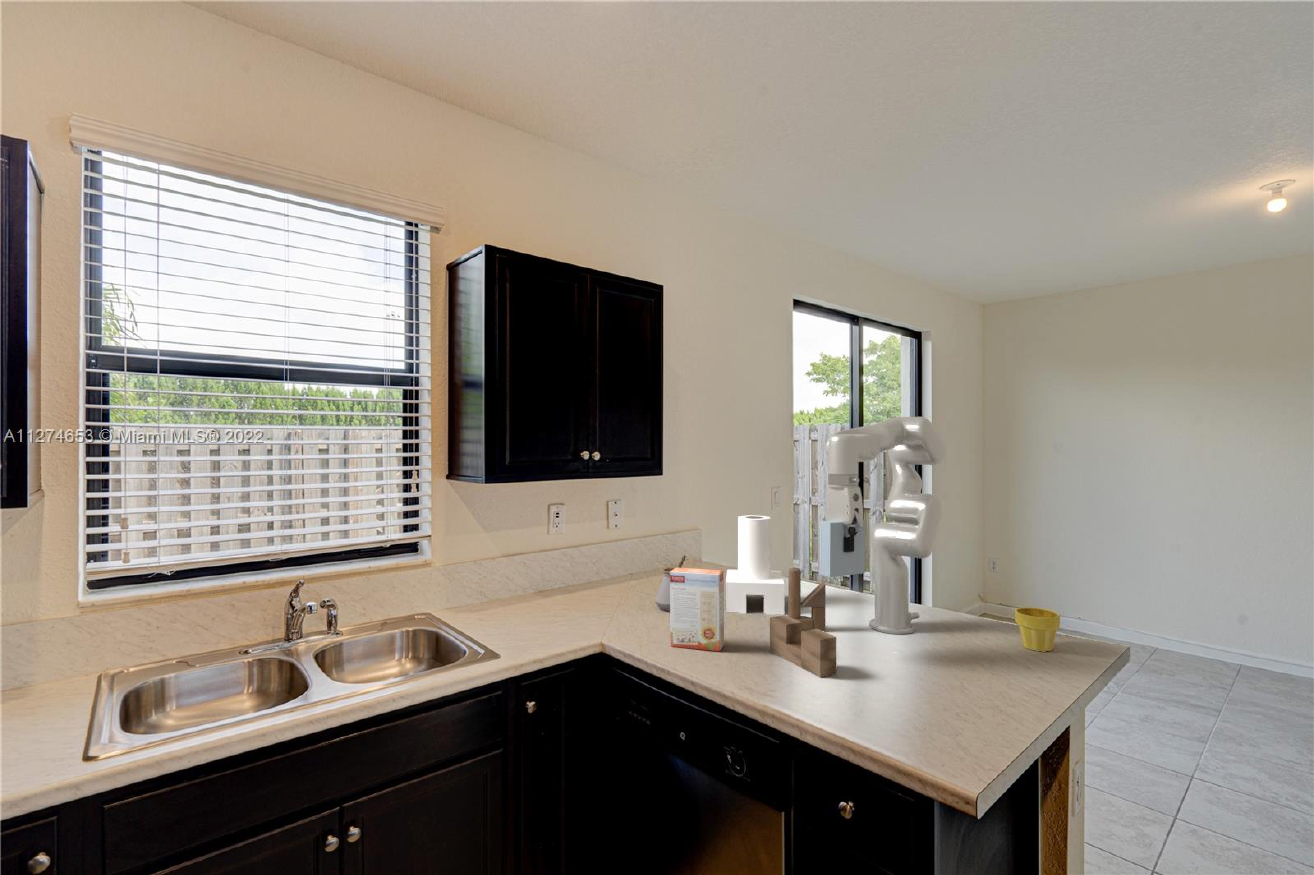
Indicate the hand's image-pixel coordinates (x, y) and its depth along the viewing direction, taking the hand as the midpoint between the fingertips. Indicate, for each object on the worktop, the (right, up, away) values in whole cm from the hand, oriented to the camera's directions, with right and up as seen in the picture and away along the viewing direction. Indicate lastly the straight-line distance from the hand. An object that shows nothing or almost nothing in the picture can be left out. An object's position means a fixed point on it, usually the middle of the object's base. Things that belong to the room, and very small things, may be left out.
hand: (842, 549), depth 162 cm
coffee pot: (-42, -28, +48) cm, 69 cm away
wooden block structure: (-5, -28, +20) cm, 35 cm away
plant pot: (+54, -28, +4) cm, 61 cm away
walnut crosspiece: (-12, -28, -6) cm, 31 cm away
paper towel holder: (-16, -28, +46) cm, 56 cm away
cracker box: (-38, -28, +6) cm, 48 cm away
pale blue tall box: (0, -6, 0) cm, 6 cm away
